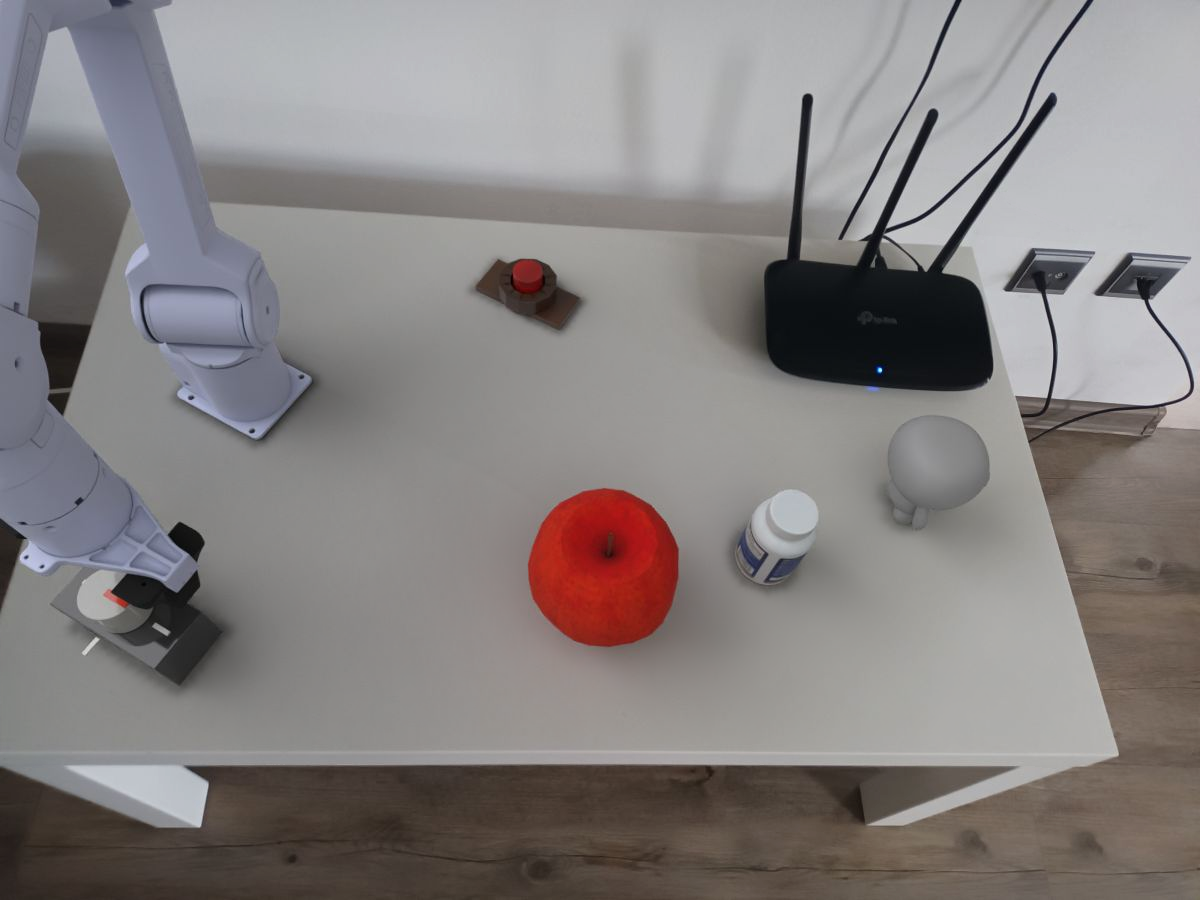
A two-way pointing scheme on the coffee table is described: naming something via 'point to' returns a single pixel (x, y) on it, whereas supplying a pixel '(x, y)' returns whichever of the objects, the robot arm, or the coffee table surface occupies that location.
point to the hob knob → (108, 604)
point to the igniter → (541, 305)
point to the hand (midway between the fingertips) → (143, 569)
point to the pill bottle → (777, 537)
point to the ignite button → (527, 276)
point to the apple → (604, 568)
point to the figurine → (934, 467)
